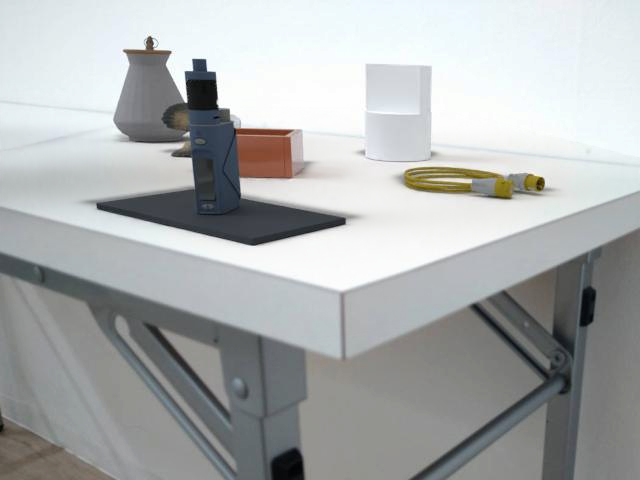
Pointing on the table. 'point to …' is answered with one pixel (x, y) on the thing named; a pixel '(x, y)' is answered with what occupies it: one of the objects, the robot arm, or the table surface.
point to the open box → (269, 152)
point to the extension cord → (474, 181)
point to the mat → (224, 217)
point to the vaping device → (211, 144)
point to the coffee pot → (147, 96)
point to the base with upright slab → (398, 112)
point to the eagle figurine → (184, 123)
